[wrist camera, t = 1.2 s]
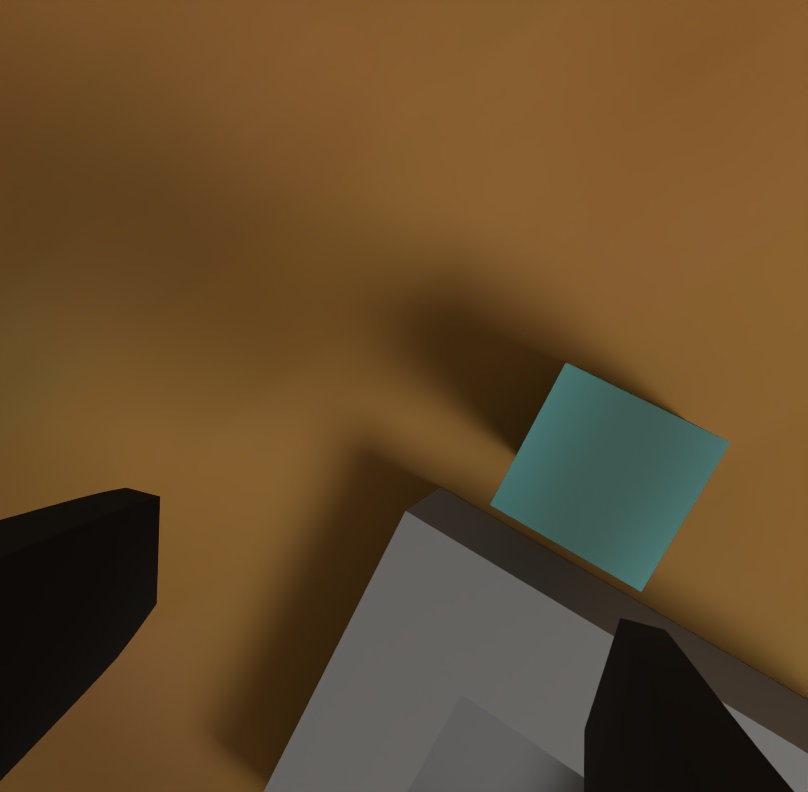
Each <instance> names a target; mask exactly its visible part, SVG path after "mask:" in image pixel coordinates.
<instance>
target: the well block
mask: <svg viewBox="0 0 808 792" xmlns="http://www.w3.org/2000/svg"><path fill="white" fill-rule="evenodd" d="M620 618H623V619H627V620H631V621H635V622H639V623H642V624H646V625H650V626H654V627H658V628H661V629H665V630H666V631H667V632H668V634H669V635H670V636H671V637H672V638H673V640H674V641H675V642H676V643H677V645H678V646H679V647H680V648H681V650H682V651H683V652H684V654H685V655H686V656H687V657H688V659H689V660H690V661H691V663H692V664H693V665H694V667H695V668H696V669H697V670H698V672H699V673H700V674H701V676H702V677H703V678H704V680H705V681H706V682H707V684H708V685H709V686H710V687H711V689H712V690H713V691H714V693H715V694H716V695H717V697H718V698H719V699H720V700H721V702H722V703H723V704H724V706H725V707H726V708H727V709H728V711H729V712H730V713H731V715H732V716H733V717H734V718H735V720H736V721H737V722H738V723H739V725H740V726H741V727H742V729H743V730H744V731H745V732H746V734H747V735H748V736H749V737H750V739H751V740H752V741H753V742H754V744H755V745H756V746H757V747H758V749H759V750H760V751H761V752H762V753H763V755H764V756H765V757H766V758H767V760H768V761H769V762H770V763H771V764H772V766H773V767H774V768H775V769H776V770H777V772H778V773H779V774H780V775H781V776H782V778H783V779H784V780H785V781H786V782H787V784H788V785H789V786H790V787H791V788H792V790H793V791H794V792H808V700H807V699H805V698H803V697H802V696H800V695H798V694H796V693H795V692H793V691H791V690H790V689H788V688H786V687H784V686H783V685H781V684H779V683H778V682H776V681H774V680H772V679H771V678H769V677H767V676H765V675H764V674H762V673H760V672H759V671H757V670H755V669H753V668H752V667H750V666H748V665H747V664H745V663H743V662H741V661H740V660H738V659H736V658H734V657H733V656H731V655H729V654H728V653H726V652H724V651H722V650H721V649H719V648H717V647H716V646H714V645H712V644H710V643H709V642H707V641H705V640H703V639H702V638H700V637H698V636H697V635H695V634H693V633H691V632H690V631H688V630H686V629H685V628H683V627H681V626H679V625H678V624H676V623H674V622H672V621H671V620H669V619H667V618H666V617H664V616H662V615H660V614H659V613H657V612H655V611H654V610H652V609H650V608H648V607H647V606H645V605H643V604H641V603H640V602H638V601H636V600H635V599H633V598H631V597H629V596H628V595H626V594H624V593H623V592H621V591H619V590H617V589H616V588H614V587H612V586H611V585H609V584H607V583H605V582H604V581H602V580H600V579H598V578H597V577H595V576H593V575H592V574H590V573H588V572H586V571H585V570H583V569H581V568H580V567H578V566H576V565H574V564H573V563H571V562H569V561H567V560H566V559H564V558H562V557H561V556H559V555H557V554H555V553H554V552H552V551H550V550H549V549H547V548H545V547H543V546H542V545H540V544H538V543H536V542H535V541H533V540H531V539H530V538H528V537H526V536H524V535H523V534H521V533H519V532H518V531H516V530H514V529H512V528H511V527H509V526H507V525H505V524H504V523H502V522H500V521H499V520H497V519H495V518H493V517H492V516H490V515H488V514H487V513H485V512H483V511H481V510H480V509H478V508H476V507H474V506H473V505H471V504H469V503H468V502H466V501H464V500H462V499H461V498H459V497H457V496H456V495H454V494H452V493H450V492H449V491H447V490H445V489H443V488H442V487H440V488H438V489H437V490H435V491H434V492H432V493H431V494H429V495H428V496H426V497H425V498H424V499H422V500H421V501H419V502H418V503H416V504H415V505H413V506H412V507H410V508H409V509H407V510H406V511H405V513H404V515H403V517H402V519H401V521H400V523H399V525H398V527H397V529H396V531H395V533H394V535H393V537H392V539H391V541H390V543H389V545H388V547H387V549H386V551H385V553H384V554H383V556H382V558H381V560H380V562H379V564H378V566H377V568H376V570H375V572H374V574H373V576H372V578H371V580H370V582H369V584H368V586H367V588H366V590H365V592H364V594H363V596H362V598H361V600H360V602H359V604H358V606H357V608H356V610H355V612H354V614H353V616H352V618H351V620H350V622H349V624H348V626H347V628H346V630H345V632H344V634H343V636H342V638H341V640H340V642H339V644H338V646H337V647H336V649H335V651H334V653H333V655H332V657H331V659H330V661H329V663H328V665H327V667H326V669H325V671H324V673H323V675H322V677H321V679H320V681H319V683H318V685H317V687H316V689H315V691H314V693H313V695H312V697H311V699H310V701H309V703H308V705H307V707H306V709H305V711H304V713H303V715H302V717H301V719H300V721H299V723H298V725H297V727H296V729H295V731H294V733H293V735H292V737H291V739H290V741H289V742H288V744H287V746H286V748H285V750H284V752H283V754H282V756H281V758H280V760H279V762H278V764H277V766H276V768H275V770H274V772H273V774H272V776H271V778H270V780H269V782H268V784H267V786H266V788H265V790H264V792H584V729H585V726H586V723H587V720H588V717H589V713H590V710H591V707H592V704H593V701H594V698H595V695H596V692H597V689H598V685H599V682H600V679H601V676H602V673H603V670H604V667H605V664H606V660H607V657H608V654H609V651H610V648H611V645H612V642H613V639H614V636H615V632H616V629H617V626H618V623H619V620H620Z"/></svg>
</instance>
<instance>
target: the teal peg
mask: <svg viewBox="0 0 808 792" xmlns="http://www.w3.org/2000/svg"><path fill="white" fill-rule="evenodd" d="M729 444H730V442H728V441H726V440H724V439H722V438H720V437H718V436H716V435H714V434H712V433H710V432H708V431H706V430H704V429H702V428H700V427H699V426H697V425H695V424H693V423H691V422H689V421H687V420H685V419H683V418H681V417H679V416H677V415H675V414H673V413H670V412H668V411H666V410H664V409H662V408H660V407H658V406H656V405H654V404H652V403H650V402H648V401H646V400H644V399H642V398H640V397H638V396H636V395H634V394H631V393H629V392H627V391H625V390H623V389H621V388H619V387H617V386H615V385H613V384H611V383H609V382H607V381H605V380H603V379H601V378H599V377H597V376H595V375H593V374H590V373H588V372H586V371H584V370H582V369H580V368H578V367H576V366H573V365H571V364H568V363H565V365H564V367H563V369H562V371H561V373H560V375H559V376H558V378H557V380H556V382H555V384H554V386H553V388H552V390H551V391H550V393H549V395H548V397H547V399H546V401H545V403H544V405H543V406H542V408H541V410H540V412H539V414H538V416H537V418H536V420H535V422H534V423H533V425H532V427H531V429H530V431H529V433H528V435H527V437H526V438H525V440H524V442H523V444H522V446H521V448H520V450H519V452H518V453H517V455H516V457H515V459H514V461H513V463H512V465H511V467H510V469H509V470H508V472H507V474H506V476H505V478H504V480H503V482H502V484H501V485H500V487H499V489H498V491H497V493H496V495H495V497H494V499H493V500H492V502H491V504H490V505H491V506H493V507H494V508H496V509H498V510H500V511H501V512H503V513H505V514H507V515H508V516H510V517H512V518H514V519H515V520H517V521H519V522H520V523H522V524H524V525H526V526H527V527H529V528H531V529H533V530H534V531H536V532H538V533H540V534H541V535H543V536H545V537H547V538H548V539H550V540H552V541H554V542H555V543H557V544H559V545H560V546H562V547H564V548H566V549H567V550H569V551H571V552H573V553H574V554H576V555H578V556H580V557H581V558H583V559H585V560H587V561H588V562H590V563H592V564H593V565H595V566H597V567H599V568H600V569H602V570H604V571H606V572H607V573H609V574H611V575H613V576H614V577H616V578H618V579H620V580H621V581H623V582H625V583H626V584H628V585H630V586H632V587H633V588H635V589H637V590H639V591H640V592H642V590H643V588H644V587H645V585H646V583H647V582H648V580H649V578H650V576H651V575H652V573H653V571H654V570H655V568H656V566H657V565H658V563H659V561H660V560H661V558H662V556H663V555H664V553H665V551H666V550H667V548H668V546H669V545H670V543H671V541H672V540H673V538H674V536H675V535H676V533H677V531H678V530H679V528H680V526H681V525H682V523H683V521H684V520H685V518H686V516H687V515H688V513H689V511H690V510H691V508H692V506H693V505H694V503H695V501H696V500H697V498H698V496H699V495H700V493H701V491H702V490H703V488H704V486H705V485H706V483H707V481H708V480H709V478H710V476H711V474H712V473H713V471H714V469H715V468H716V466H717V464H718V463H719V461H720V459H721V458H722V456H723V454H724V453H725V451H726V449H727V448H728V446H729Z"/></svg>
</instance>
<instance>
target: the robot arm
mask: <svg viewBox="0 0 808 792" xmlns="http://www.w3.org/2000/svg"><path fill="white" fill-rule="evenodd" d="M159 513H160V497H159V496H156V495H152V494H148V493H144V492H140V491H136V490H133V489H129V488H122V489H117V490H111V491H107V492H102V493H98V494H94V495H90V496H86V497H82V498H78V499H74V500H71V501H67V502H63V503H60V504H56V505H52V506H49V507H45V508H42V509H38V510H34V511H31V512H27V513H24V514H20V515H16V516H13V517H9V518H6V519H2V520H0V781H1V780H2V779H3V778H4V776H5V775H6V774H7V773H8V772H9V771H10V770H11V769H12V768H13V767H14V766H15V765H16V764H17V763H18V762H19V761H20V760H21V759H22V758H23V757H24V756H25V755H26V753H27V752H28V751H29V750H30V749H31V748H32V747H33V746H34V745H35V744H36V743H37V742H38V741H39V740H40V739H41V738H42V737H43V736H44V735H45V734H46V733H47V732H48V730H49V729H50V728H51V727H52V726H53V725H54V724H55V723H56V722H57V721H58V720H59V719H60V718H61V717H62V716H63V715H64V714H65V713H66V712H67V711H68V710H69V709H70V707H71V706H72V705H73V704H74V703H75V702H76V701H77V700H78V699H79V698H80V697H81V696H82V695H83V694H84V693H85V692H86V691H87V689H88V688H89V687H90V686H91V685H92V684H93V683H94V682H95V681H96V680H97V679H98V678H99V677H100V676H101V675H102V674H103V672H104V671H105V670H106V669H107V668H108V667H109V666H110V665H111V664H112V663H113V662H114V660H115V659H116V658H117V657H118V656H119V654H120V653H121V652H122V650H123V649H124V648H125V647H126V645H127V644H128V643H129V641H130V640H131V639H132V637H133V636H134V635H135V633H136V632H137V631H138V629H139V628H140V626H141V625H142V624H143V622H144V621H145V619H146V618H147V617H148V615H149V614H150V612H151V611H152V610H153V608H154V607H155V605H156V604H157V576H158V544H159ZM584 792H794V791H793V790H792V788H791V787H790V786H789V785H788V784H787V782H786V781H785V780H784V779H783V778H782V776H781V775H780V774H779V773H778V772H777V770H776V769H775V768H774V767H773V766H772V764H771V763H770V762H769V761H768V760H767V758H766V757H765V756H764V755H763V753H762V752H761V751H760V750H759V749H758V747H757V746H756V745H755V744H754V742H753V741H752V740H751V739H750V737H749V736H748V735H747V734H746V732H745V731H744V730H743V729H742V727H741V726H740V725H739V723H738V722H737V721H736V720H735V718H734V717H733V716H732V715H731V713H730V712H729V711H728V709H727V708H726V707H725V706H724V704H723V703H722V702H721V700H720V699H719V698H718V697H717V695H716V694H715V693H714V691H713V690H712V689H711V687H710V686H709V685H708V684H707V682H706V681H705V680H704V678H703V677H702V676H701V674H700V673H699V672H698V670H697V669H696V668H695V667H694V665H693V664H692V663H691V661H690V660H689V659H688V657H687V656H686V655H685V654H684V652H683V651H682V650H681V648H680V647H679V646H678V645H677V643H676V642H675V641H674V640H673V638H672V637H671V636H670V635H669V634H668V632H667V631H666V630H665V629H661V628H658V627H654V626H650V625H646V624H642V623H639V622H635V621H631V620H627V619H623V618H620V620H619V623H618V626H617V629H616V632H615V636H614V639H613V642H612V645H611V648H610V651H609V654H608V657H607V660H606V664H605V667H604V670H603V673H602V676H601V679H600V682H599V685H598V689H597V692H596V695H595V698H594V701H593V704H592V707H591V710H590V713H589V717H588V720H587V723H586V726H585V729H584Z"/></svg>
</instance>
